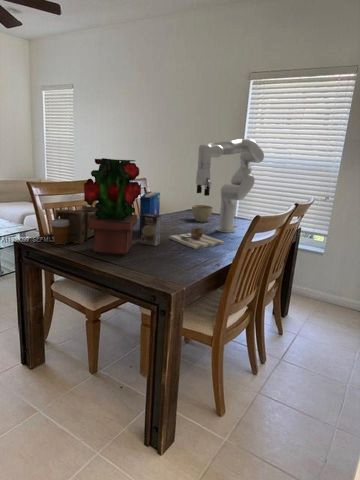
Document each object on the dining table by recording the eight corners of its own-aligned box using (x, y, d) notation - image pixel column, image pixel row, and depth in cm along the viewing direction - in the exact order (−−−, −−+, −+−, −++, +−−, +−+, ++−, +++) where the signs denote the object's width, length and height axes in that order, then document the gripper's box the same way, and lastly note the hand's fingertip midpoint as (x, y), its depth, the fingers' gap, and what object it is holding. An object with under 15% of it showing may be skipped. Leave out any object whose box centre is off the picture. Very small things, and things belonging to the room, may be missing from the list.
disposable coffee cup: (49, 245, 168) (48, 222, 165) (53, 240, 177) (52, 218, 174) (69, 245, 170) (68, 223, 167) (71, 240, 179) (71, 219, 176)
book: (149, 237, 195) (150, 195, 189) (137, 236, 197) (139, 194, 190) (158, 230, 216) (160, 191, 210) (148, 228, 217) (149, 190, 211)
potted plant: (97, 244, 176) (97, 157, 164) (139, 247, 176) (141, 160, 164) (85, 256, 155) (83, 158, 143) (132, 260, 154) (134, 161, 143)
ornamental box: (92, 232, 211) (89, 203, 208) (116, 232, 206) (113, 202, 202) (56, 243, 179) (51, 209, 175) (84, 244, 173) (80, 209, 169)
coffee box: (140, 243, 183) (141, 214, 178) (145, 240, 188) (146, 213, 184) (155, 245, 180) (156, 217, 176) (160, 243, 186) (161, 215, 181)
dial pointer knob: (199, 236, 197) (200, 226, 196) (202, 238, 193) (203, 228, 191) (180, 237, 193) (180, 227, 192) (183, 239, 189) (183, 229, 187)
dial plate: (196, 234, 210) (197, 232, 210) (223, 243, 192) (224, 241, 192) (169, 238, 197) (169, 235, 196) (195, 248, 179) (195, 245, 178)
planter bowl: (186, 219, 255) (187, 205, 252) (200, 217, 266) (201, 204, 263) (201, 223, 244) (202, 209, 241) (215, 221, 255) (217, 207, 252)
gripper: (192, 164, 204) (191, 192, 209) (205, 167, 189) (204, 196, 194) (202, 164, 207) (201, 192, 212) (216, 167, 192) (215, 196, 197)
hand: (202, 194), depth 203 cm, fingers open, 9 cm apart
